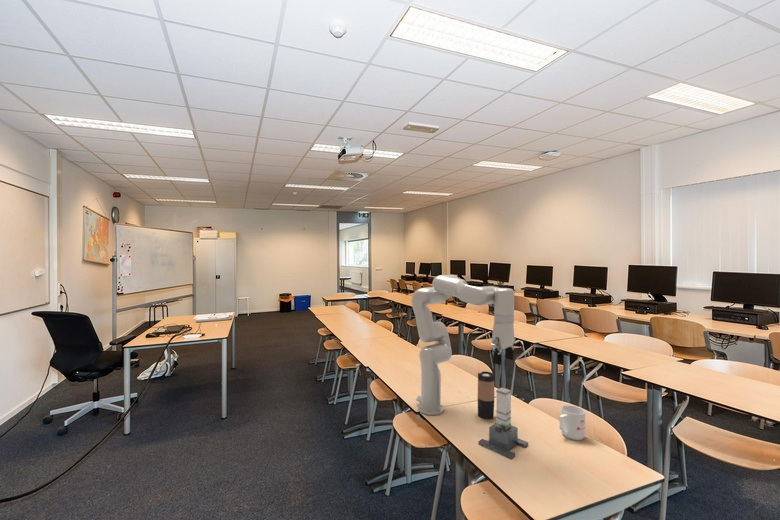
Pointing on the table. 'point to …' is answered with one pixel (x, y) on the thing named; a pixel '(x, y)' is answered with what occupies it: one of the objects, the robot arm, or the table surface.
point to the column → (503, 409)
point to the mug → (572, 422)
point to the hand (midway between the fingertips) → (503, 361)
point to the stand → (503, 441)
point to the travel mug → (486, 395)
